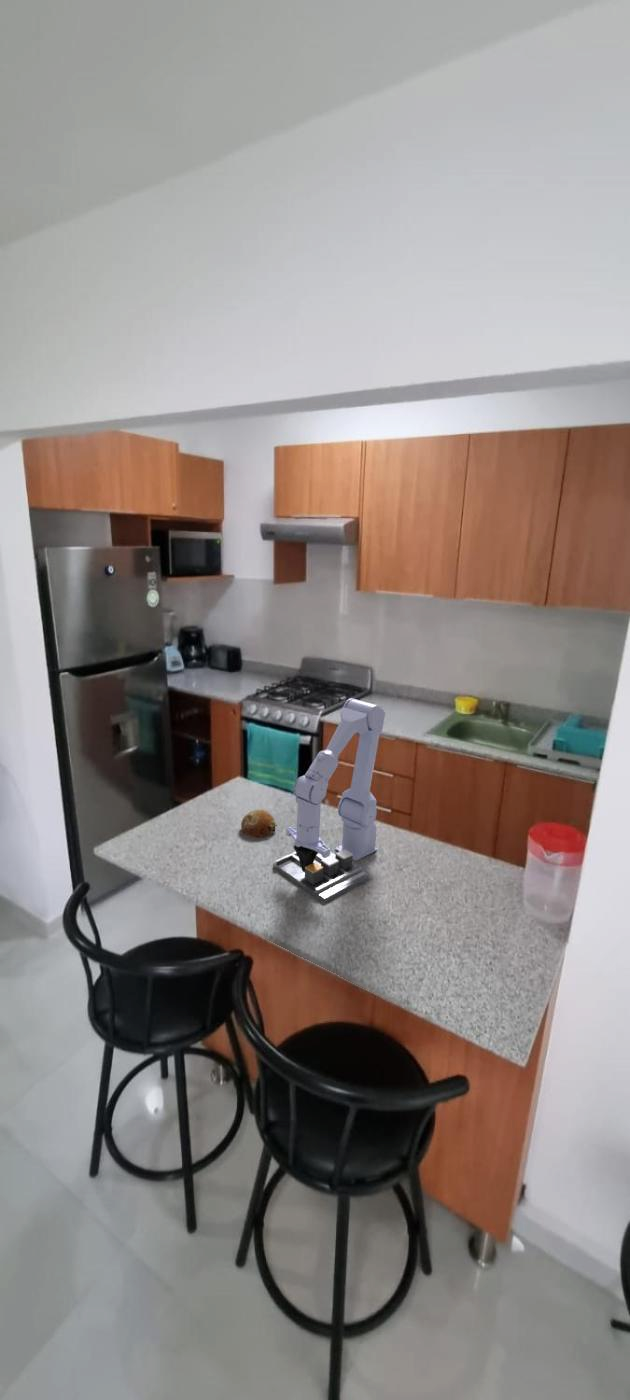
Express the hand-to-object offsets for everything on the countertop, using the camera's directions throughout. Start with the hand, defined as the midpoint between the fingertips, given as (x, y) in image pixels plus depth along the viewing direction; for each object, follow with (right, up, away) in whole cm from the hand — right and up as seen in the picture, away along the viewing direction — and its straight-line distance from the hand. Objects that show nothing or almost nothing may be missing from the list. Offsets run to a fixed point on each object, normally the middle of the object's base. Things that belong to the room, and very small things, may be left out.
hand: (306, 870), depth 143 cm
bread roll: (-14, +4, +25) cm, 29 cm away
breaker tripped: (+2, -2, -2) cm, 3 cm away
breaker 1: (+6, -1, +2) cm, 6 cm away
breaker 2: (+10, 0, +5) cm, 11 cm away
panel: (+4, -2, +4) cm, 6 cm away
